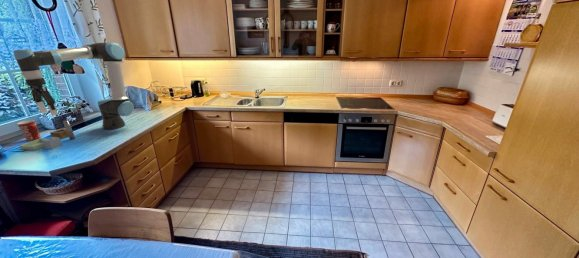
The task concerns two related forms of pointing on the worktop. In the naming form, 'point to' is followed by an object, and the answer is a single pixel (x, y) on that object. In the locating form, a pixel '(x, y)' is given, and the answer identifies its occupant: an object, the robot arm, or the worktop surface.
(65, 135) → the bored block
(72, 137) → the pin gauge
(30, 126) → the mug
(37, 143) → the tray
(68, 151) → the worktop surface
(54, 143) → the block
